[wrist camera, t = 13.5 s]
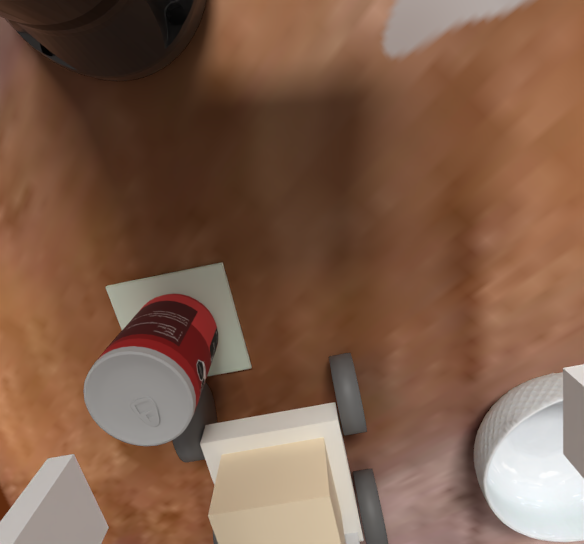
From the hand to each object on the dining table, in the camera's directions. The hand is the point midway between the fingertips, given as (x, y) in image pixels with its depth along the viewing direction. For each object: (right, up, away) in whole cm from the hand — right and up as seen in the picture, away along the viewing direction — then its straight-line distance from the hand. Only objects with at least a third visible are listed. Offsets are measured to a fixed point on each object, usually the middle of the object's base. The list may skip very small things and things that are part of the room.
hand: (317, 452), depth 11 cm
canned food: (-11, 0, +28) cm, 30 cm away
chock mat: (-11, 0, +28) cm, 31 cm away
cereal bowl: (+25, -10, +32) cm, 42 cm away
